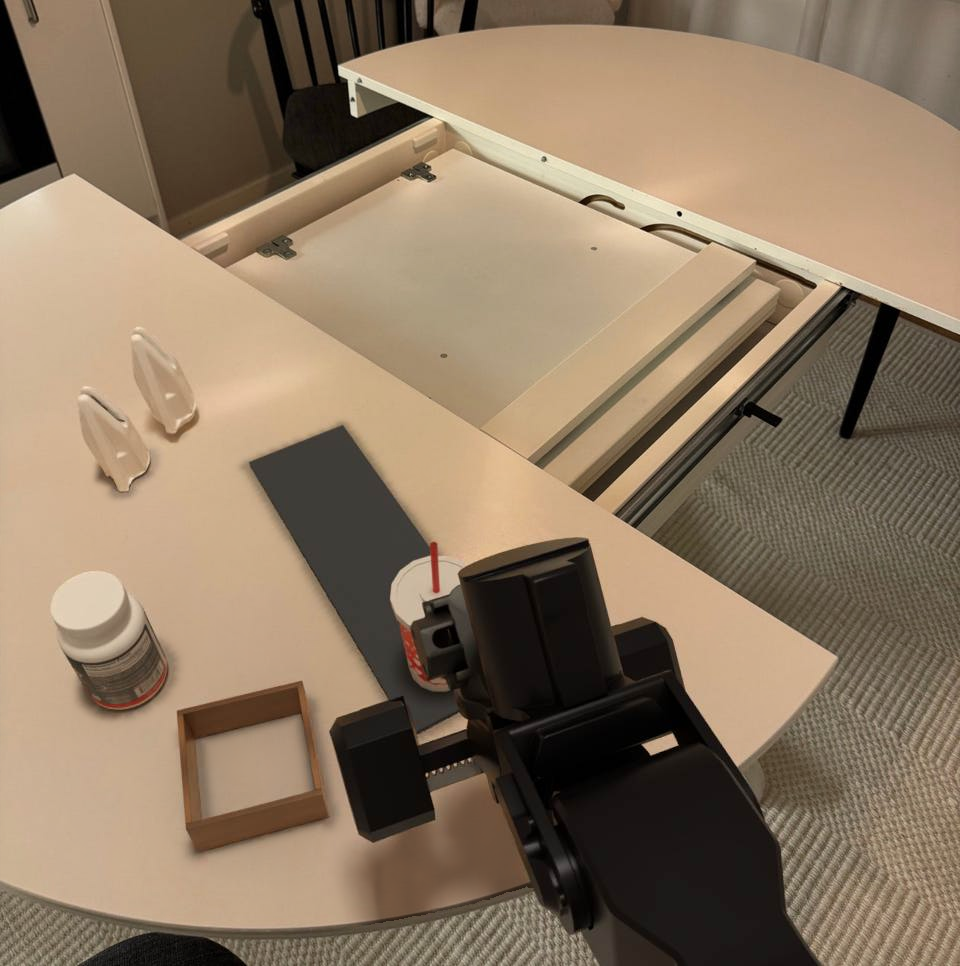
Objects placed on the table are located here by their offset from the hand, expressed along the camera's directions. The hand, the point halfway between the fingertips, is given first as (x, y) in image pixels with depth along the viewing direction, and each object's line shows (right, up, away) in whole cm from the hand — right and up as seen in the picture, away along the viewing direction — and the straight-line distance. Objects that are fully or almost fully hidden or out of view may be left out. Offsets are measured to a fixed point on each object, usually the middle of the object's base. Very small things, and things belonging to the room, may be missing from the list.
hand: (476, 689), depth 59 cm
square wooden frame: (-15, -7, +6) cm, 17 cm away
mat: (-8, +6, +18) cm, 21 cm away
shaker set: (-29, +16, +27) cm, 43 cm away
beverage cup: (-3, -1, +11) cm, 11 cm away
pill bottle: (-25, -2, +11) cm, 27 cm away
